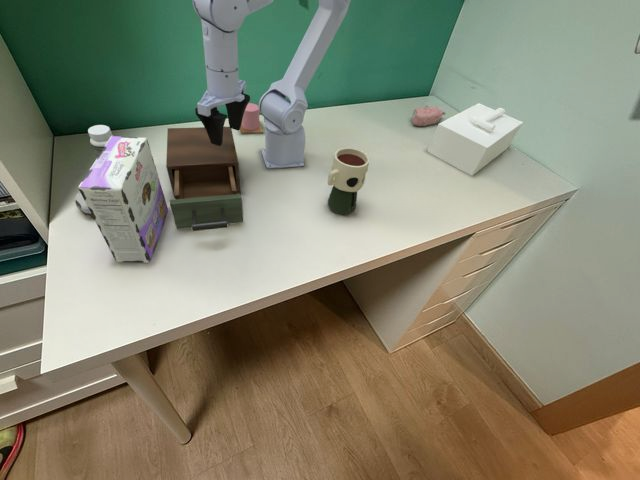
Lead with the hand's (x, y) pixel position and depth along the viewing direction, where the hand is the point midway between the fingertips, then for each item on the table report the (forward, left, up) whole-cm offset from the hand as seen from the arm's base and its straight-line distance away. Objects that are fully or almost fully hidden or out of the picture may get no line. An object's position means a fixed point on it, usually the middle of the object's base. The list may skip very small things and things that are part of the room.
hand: (226, 136), depth 68 cm
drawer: (+5, +12, -10) cm, 16 cm away
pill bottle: (+25, -8, -11) cm, 28 cm away
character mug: (-23, +14, -11) cm, 29 cm away
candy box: (+17, +16, -11) cm, 26 cm away
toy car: (+23, +5, -11) cm, 26 cm away
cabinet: (+5, -1, -10) cm, 12 cm away
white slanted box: (-71, -5, -11) cm, 72 cm away
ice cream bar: (-66, -23, -11) cm, 71 cm away
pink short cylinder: (-8, -22, -10) cm, 25 cm away
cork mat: (-8, -22, -11) cm, 26 cm away
